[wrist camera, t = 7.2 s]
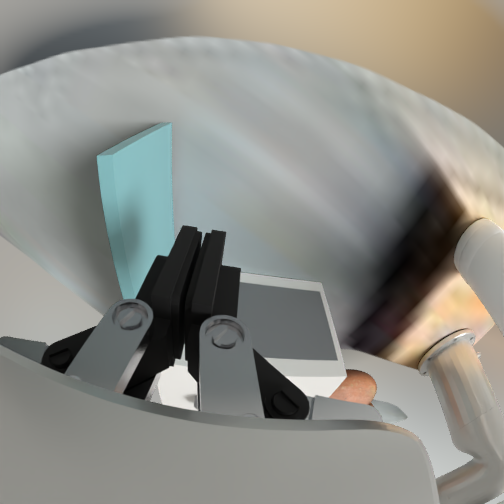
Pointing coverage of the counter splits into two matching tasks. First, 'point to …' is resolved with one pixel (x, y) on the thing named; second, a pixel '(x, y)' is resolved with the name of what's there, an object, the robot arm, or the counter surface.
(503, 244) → the bottle
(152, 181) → the side door
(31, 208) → the counter surface
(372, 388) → the ceramic jug
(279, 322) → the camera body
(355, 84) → the counter surface
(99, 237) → the counter surface
